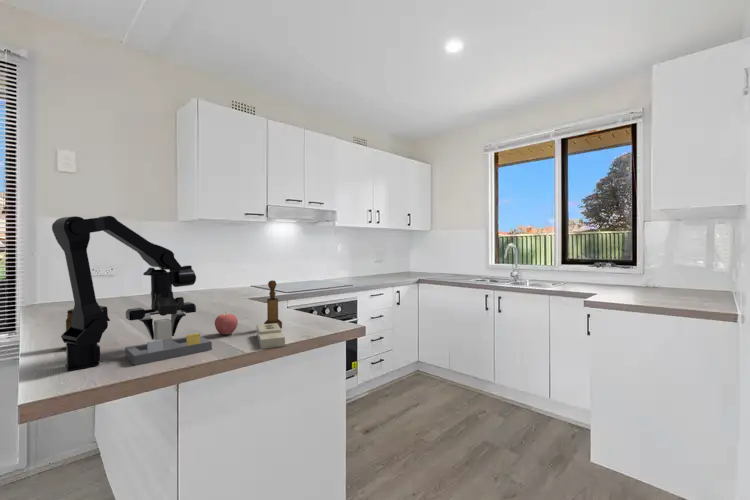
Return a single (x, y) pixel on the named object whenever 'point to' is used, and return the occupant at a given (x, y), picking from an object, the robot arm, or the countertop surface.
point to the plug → (162, 329)
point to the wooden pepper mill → (272, 306)
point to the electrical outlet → (270, 336)
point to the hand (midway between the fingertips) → (162, 337)
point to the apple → (226, 323)
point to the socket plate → (167, 349)
